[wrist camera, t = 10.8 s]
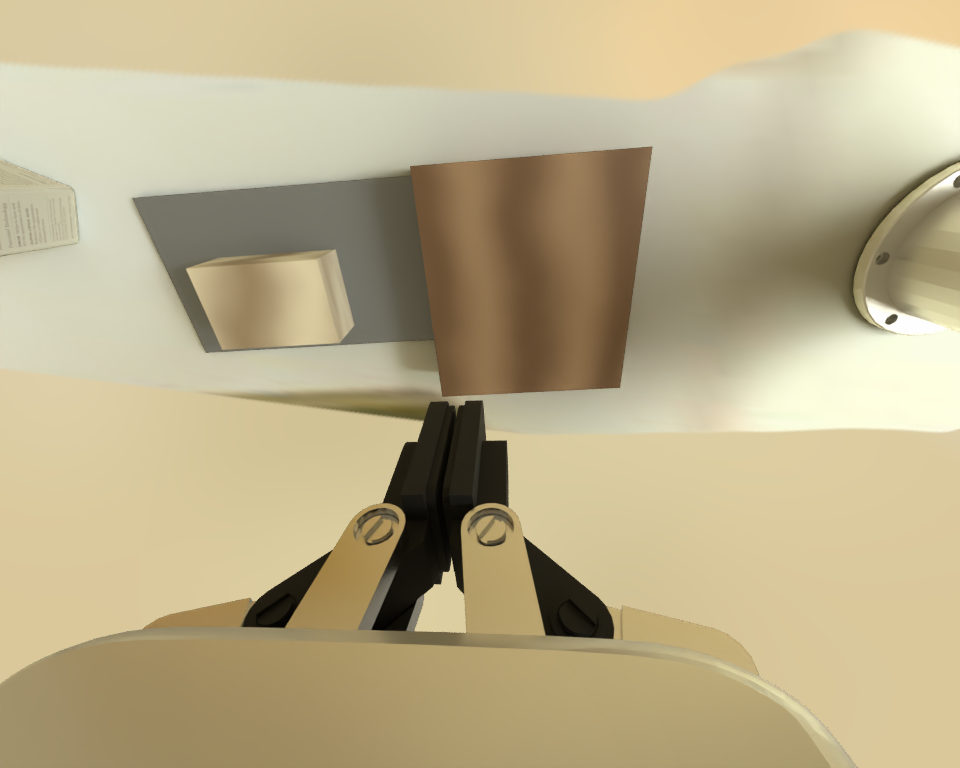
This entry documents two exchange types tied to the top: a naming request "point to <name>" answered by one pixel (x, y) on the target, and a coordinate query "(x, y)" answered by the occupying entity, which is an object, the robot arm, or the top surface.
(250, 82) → the top surface
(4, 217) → the skincare box
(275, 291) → the beige rectangular block
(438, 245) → the step
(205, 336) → the mat
